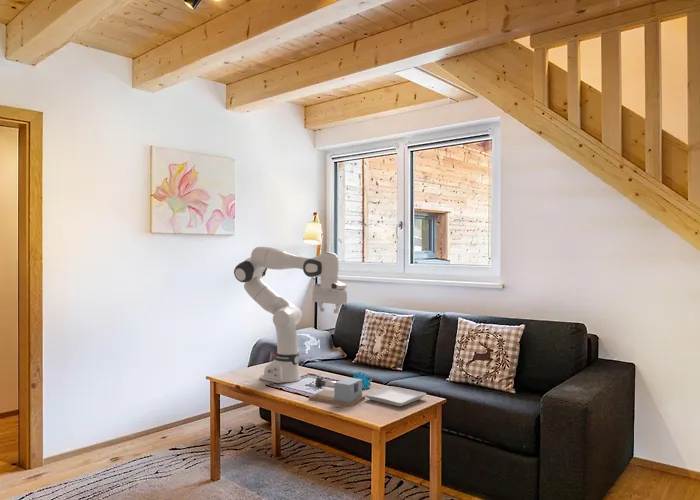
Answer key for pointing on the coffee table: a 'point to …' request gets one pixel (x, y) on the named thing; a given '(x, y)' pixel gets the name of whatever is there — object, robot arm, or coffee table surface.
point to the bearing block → (342, 393)
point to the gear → (363, 380)
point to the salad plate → (395, 396)
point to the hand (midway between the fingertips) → (328, 312)
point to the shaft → (324, 383)
